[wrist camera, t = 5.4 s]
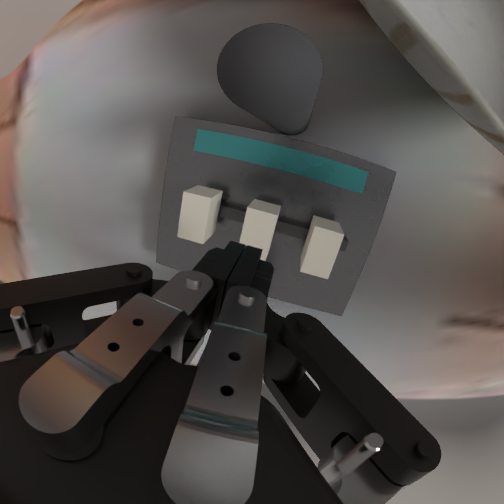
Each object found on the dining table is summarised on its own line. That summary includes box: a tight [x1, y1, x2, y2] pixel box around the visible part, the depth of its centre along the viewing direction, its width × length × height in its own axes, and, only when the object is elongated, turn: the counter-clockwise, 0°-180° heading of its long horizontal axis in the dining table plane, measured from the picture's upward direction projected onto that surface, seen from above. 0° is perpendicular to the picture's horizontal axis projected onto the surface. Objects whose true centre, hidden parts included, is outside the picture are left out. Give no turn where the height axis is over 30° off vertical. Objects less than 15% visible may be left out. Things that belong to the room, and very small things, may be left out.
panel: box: [156, 116, 396, 316], centre depth 20 cm, size 16×12×3 cm
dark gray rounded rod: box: [217, 23, 323, 135], centre depth 12 cm, size 3×3×14 cm
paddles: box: [177, 185, 344, 279], centre depth 17 cm, size 10×3×2 cm, turn 77°
